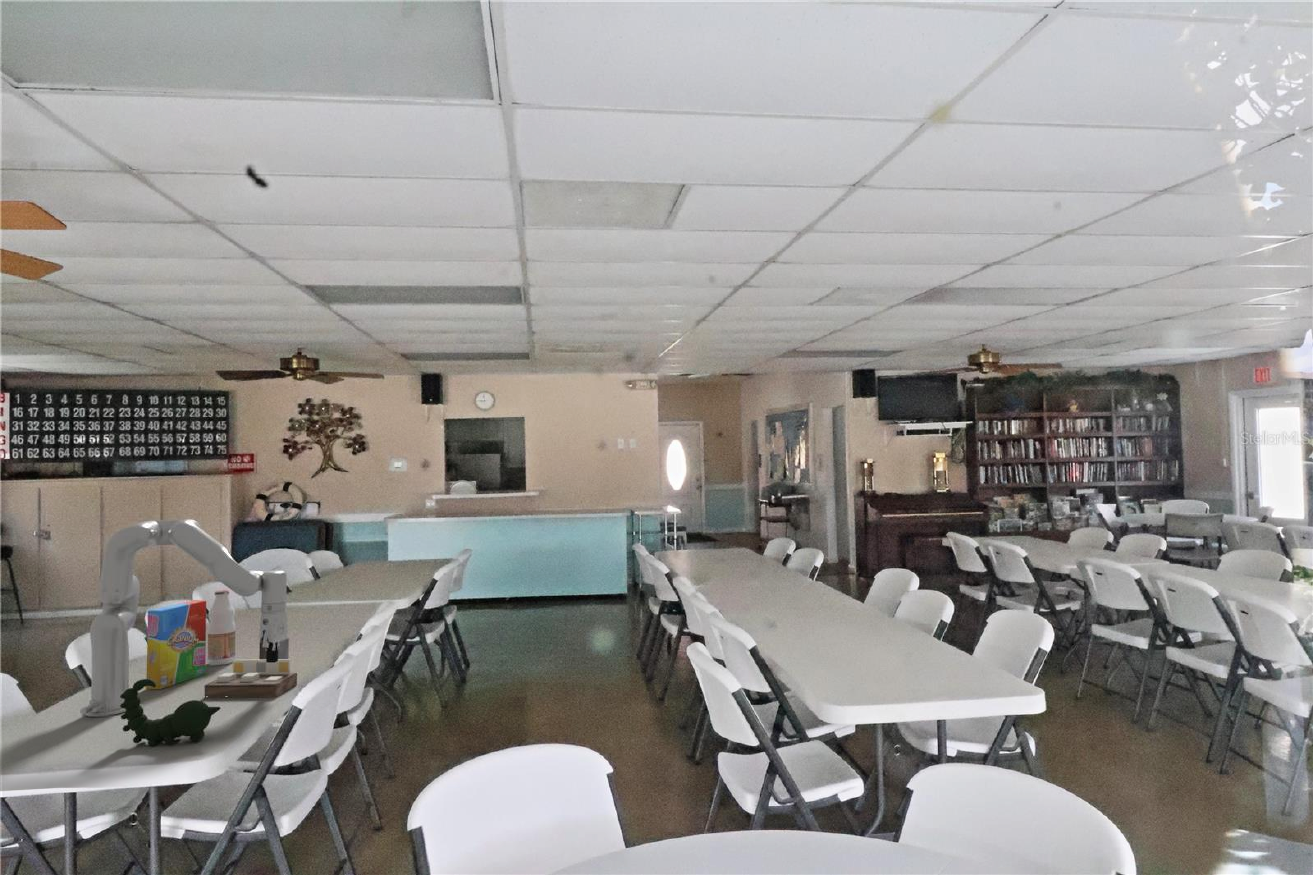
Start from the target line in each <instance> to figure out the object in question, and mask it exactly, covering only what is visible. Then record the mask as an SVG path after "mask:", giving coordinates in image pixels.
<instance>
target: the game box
mask: <svg viewBox="0 0 1313 875" xmlns="http://www.w3.org/2000/svg"><path fill="white" fill-rule="evenodd" d="M146 635H147V641H146V642H147V643H146V644H147V645H146V646H147V647H146V648H147V649H146V676H145V677H146V678H145V679H149V680H151V681H153V682H154V683H155V684H156V687H152V686H145V689H146V690H162V689H165V688H167V687H170V686H174V685H176V684H180V683H182V682H186V681H189V680H191V678H192V679H195V678H196V677H200V676H203V675H206V660H207V658H206V655H207V654H206V653H207V652H206V650H207V648H206V644H207V641H206V638H207V600H200V599H199V600H197V599H195V600H194V599H193V600H190V601H185V602H182V603H178V604H173V605H169V606H168V605H167V606H163V607H157V608H153V609H149V610H147V633H146ZM188 679H189V680H188ZM179 682H180V683H179Z"/></svg>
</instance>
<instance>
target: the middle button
mask: <svg viewBox="0 0 1313 875" xmlns="http://www.w3.org/2000/svg"><path fill="white" fill-rule="evenodd" d="M258 679H259V673H247V674H245V675H243V676H241V682H254V681H256V680H258Z"/></svg>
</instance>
